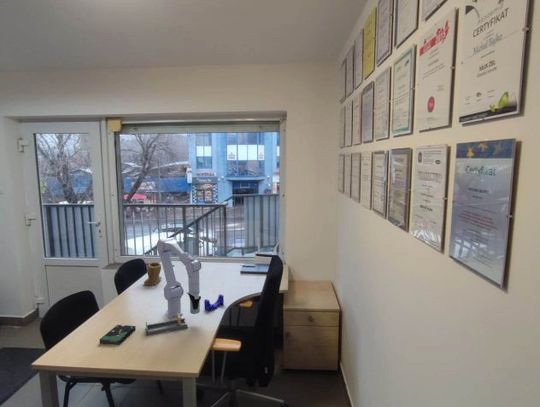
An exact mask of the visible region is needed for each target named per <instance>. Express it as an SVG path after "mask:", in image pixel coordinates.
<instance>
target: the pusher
mask: <svg viewBox="0 0 540 407" xmlns="http://www.w3.org/2000/svg"><path fill="white" fill-rule="evenodd" d="M176 318H177V319H176V320H177V323H178V325H181V319H182V318H181V315H180V314H179V313H177V316H176Z"/></svg>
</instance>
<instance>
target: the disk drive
mask: <svg viewBox="0 0 540 407" xmlns="http://www.w3.org/2000/svg"><path fill="white" fill-rule="evenodd" d="M135 331H136V325H122V324H117V325H115V326H114V327H113V328H112V329H111V330H109V331H107V333H105V335H104V334H103V336H102V337H101V338H99V344H100V345H112V346H113V345H114V346H120V345H121V344H122V343H124V342H125V340H127V338H128V337H130V336H131V335H132V334H133V333H134V332H135Z"/></svg>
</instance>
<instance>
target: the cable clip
mask: <svg viewBox="0 0 540 407" xmlns="http://www.w3.org/2000/svg"><path fill="white" fill-rule="evenodd" d="M203 302H204V303H203V304H204V308H203V309H204V310H206V311H207V312H211V310H212V311H214V310H216V309H218V307H220V306H224V305H225V304H224V295H222V294H218V298H217V300H216V301H215V302H214V303H213V304H212V303H211V302H210V300H209V299H207V298H205V299H204V301H203Z"/></svg>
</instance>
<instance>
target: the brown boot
mask: <svg viewBox="0 0 540 407" xmlns="http://www.w3.org/2000/svg"><path fill="white" fill-rule="evenodd" d="M161 270H162V263H160V262H157V261H154V262H150V263H148V265H147V270H146V271H147V272H146V273H147V276H148V278H147V279H146V280H144V282H143V284H144V285H147V286H153V285H154V286H155V285H156V284H158V283H159V282H160V281H161V280H162V278H163V277H161V276H160V273H161Z"/></svg>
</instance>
